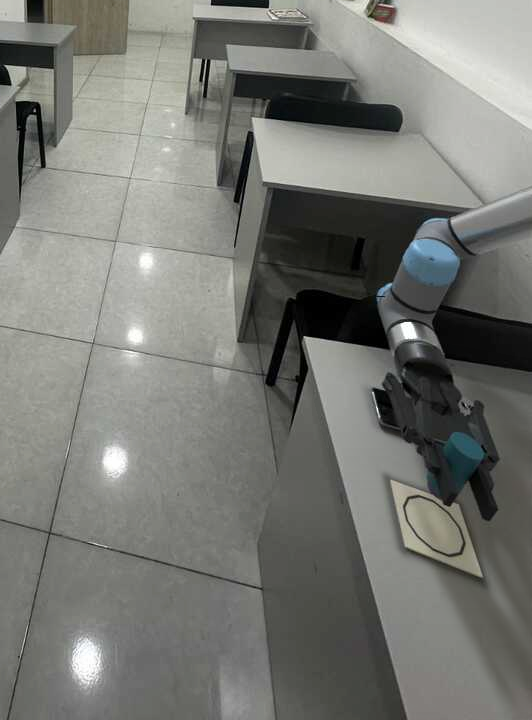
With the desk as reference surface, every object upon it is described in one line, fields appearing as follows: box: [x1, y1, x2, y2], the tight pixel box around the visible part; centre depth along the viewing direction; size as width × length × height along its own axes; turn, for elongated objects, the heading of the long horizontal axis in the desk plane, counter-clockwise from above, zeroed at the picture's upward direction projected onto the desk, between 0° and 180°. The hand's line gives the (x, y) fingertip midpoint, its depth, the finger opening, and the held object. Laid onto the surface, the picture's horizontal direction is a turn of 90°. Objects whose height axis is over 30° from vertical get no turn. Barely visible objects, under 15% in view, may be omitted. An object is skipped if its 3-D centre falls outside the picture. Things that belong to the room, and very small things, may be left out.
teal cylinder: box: [426, 432, 484, 501], centre depth 65 cm, size 4×4×10 cm
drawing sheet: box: [389, 479, 484, 579], centre depth 68 cm, size 9×9×1 cm
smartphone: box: [370, 386, 469, 445], centre depth 82 cm, size 7×1×16 cm
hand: (470, 506), depth 60 cm, fingers closed on teal cylinder, 4 cm apart
